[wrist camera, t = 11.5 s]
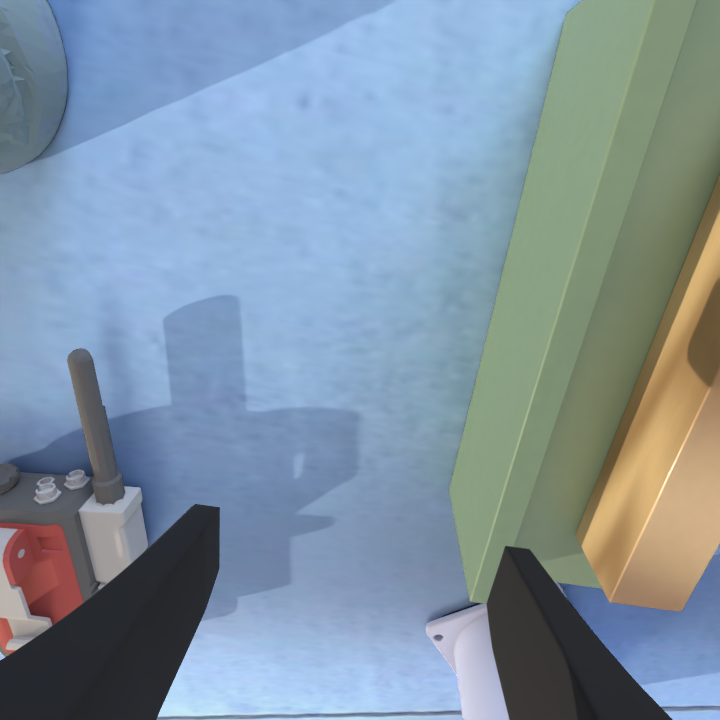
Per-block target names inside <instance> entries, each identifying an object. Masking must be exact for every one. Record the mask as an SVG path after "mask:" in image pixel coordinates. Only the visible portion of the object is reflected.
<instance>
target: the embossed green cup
mask: <svg viewBox="0 0 720 720" xmlns="http://www.w3.org/2000/svg"><path fill="white" fill-rule="evenodd" d="M67 91H68V84H67V64H66V57H65V51H64V48H63V44H62V40H61V36H60V32H59V28H58V26H57V23H56V21H55V18H54V16H53V13H52V11H51V8H50V6H49V5H48V3H47V1H46V0H0V174H4V173H8V172H10V171H13V170H15V169H18V168H20V167H22V166H24V165H25V164H26V163H28V162H30V161H32V160H33V159H34V158H35V157H37V156H39V155H40V154H41V153H42V152H43V151H44V150H45V149H46V148H47V146H48V145H49V144H50V142H51V141H52V139H53V137H54V136H55V134H56V132H57V130H58V127H59V125H60V122H61V119H62V116H63V113H64V109H65V105H66V98H67Z"/></svg>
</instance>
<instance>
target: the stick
mask: <svg viewBox="0 0 720 720" xmlns="http://www.w3.org/2000/svg"><path fill="white" fill-rule="evenodd" d="M576 537H577V539H578V541H579V543H580V545H581V547H582V549H583V551H584V553H585V555H586V557H587V559H588V561H589V563H590V565H591V567H592V569H593V571H594V573H595V575H596V577H597V579H598V581H599V583H600V585H601V587H602V589H603V591H604V593H605V595H606V597H607V599H608V601H609V602H611V603H619V604H626V605H634V606H641V607H648V608H656V609H663V610H671V611H678V612H681V611H682V610H683V608H684V606H685V604H686V603H687V601H688V599H689V597H690V596H691V594H692V592H693V590H694V589H695V587H696V585H697V583H698V582H699V580H700V578H701V576H702V574H703V573H704V571H705V569H706V567H707V566H708V564H709V562H710V560H711V559H712V557H713V555H714V553H715V551H716V550H717V548H718V546H719V544H720V174H719V177H718V179H717V182H716V184H715V187H714V189H713V192H712V194H711V197H710V199H709V202H708V204H707V207H706V209H705V212H704V214H703V217H702V219H701V222H700V224H699V227H698V229H697V232H696V234H695V237H694V239H693V242H692V244H691V247H690V249H689V252H688V254H687V257H686V259H685V262H684V264H683V267H682V269H681V272H680V274H679V277H678V279H677V282H676V284H675V287H674V289H673V292H672V294H671V297H670V299H669V302H668V304H667V307H666V309H665V312H664V314H663V317H662V319H661V322H660V324H659V327H658V329H657V332H656V334H655V337H654V339H653V342H652V344H651V347H650V349H649V352H648V354H647V357H646V359H645V362H644V364H643V367H642V369H641V372H640V374H639V377H638V379H637V382H636V384H635V387H634V390H633V392H632V395H631V397H630V400H629V402H628V405H627V407H626V410H625V412H624V415H623V417H622V420H621V422H620V425H619V427H618V430H617V432H616V435H615V437H614V440H613V442H612V445H611V447H610V450H609V452H608V455H607V457H606V460H605V462H604V465H603V467H602V470H601V472H600V475H599V477H598V480H597V482H596V485H595V487H594V490H593V492H592V495H591V497H590V500H589V502H588V505H587V507H586V510H585V512H584V515H583V517H582V520H581V522H580V525H579V527H578V530H577V532H576Z"/></svg>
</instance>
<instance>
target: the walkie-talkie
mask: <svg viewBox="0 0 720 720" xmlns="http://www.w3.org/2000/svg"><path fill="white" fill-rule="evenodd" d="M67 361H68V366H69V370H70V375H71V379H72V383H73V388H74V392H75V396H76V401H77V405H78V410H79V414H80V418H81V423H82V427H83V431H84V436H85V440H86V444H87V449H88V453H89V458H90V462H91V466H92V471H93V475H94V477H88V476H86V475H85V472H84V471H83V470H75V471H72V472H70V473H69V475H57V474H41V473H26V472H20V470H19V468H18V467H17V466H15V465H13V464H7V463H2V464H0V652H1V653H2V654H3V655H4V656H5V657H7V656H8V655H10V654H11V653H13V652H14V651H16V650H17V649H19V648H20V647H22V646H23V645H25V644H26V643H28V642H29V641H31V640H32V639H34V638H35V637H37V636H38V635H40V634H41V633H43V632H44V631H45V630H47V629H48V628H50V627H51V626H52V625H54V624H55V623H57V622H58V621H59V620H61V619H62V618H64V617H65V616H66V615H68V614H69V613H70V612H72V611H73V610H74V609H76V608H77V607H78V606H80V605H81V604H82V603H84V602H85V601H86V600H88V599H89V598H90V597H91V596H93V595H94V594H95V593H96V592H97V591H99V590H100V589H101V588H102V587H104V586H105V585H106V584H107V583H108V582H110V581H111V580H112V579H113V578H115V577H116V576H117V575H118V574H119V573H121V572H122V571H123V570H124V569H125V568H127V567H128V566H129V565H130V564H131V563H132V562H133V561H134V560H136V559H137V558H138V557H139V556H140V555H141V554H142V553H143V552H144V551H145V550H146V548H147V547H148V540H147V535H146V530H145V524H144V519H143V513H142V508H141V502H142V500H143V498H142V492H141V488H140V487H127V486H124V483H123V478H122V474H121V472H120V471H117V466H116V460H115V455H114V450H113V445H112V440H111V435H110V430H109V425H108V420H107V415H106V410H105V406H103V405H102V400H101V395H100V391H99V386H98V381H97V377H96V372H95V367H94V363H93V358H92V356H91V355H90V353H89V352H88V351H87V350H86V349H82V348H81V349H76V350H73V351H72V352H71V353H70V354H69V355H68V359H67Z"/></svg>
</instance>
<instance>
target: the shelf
mask: <svg viewBox="0 0 720 720" xmlns="http://www.w3.org/2000/svg"><path fill="white" fill-rule="evenodd" d="M719 174H720V0H582V1H581V2H579V3H578V4H577V5H576V6H574V7H573V8H572V9H571V10H570V11H568V12H567V14H566V16H565V21H564V25H563V29H562V33H561V37H560V41H559V45H558V49H557V53H556V57H555V61H554V65H553V69H552V73H551V77H550V81H549V86H548V90H547V94H546V98H545V102H544V106H543V110H542V114H541V118H540V122H539V126H538V130H537V134H536V138H535V142H534V146H533V150H532V155H531V159H530V163H529V167H528V171H527V175H526V179H525V183H524V187H523V191H522V195H521V199H520V203H519V207H518V211H517V215H516V219H515V224H514V228H513V232H512V236H511V240H510V244H509V248H508V252H507V256H506V260H505V264H504V268H503V272H502V276H501V280H500V284H499V288H498V293H497V297H496V301H495V305H494V309H493V313H492V317H491V321H490V325H489V329H488V333H487V337H486V341H485V345H484V349H483V353H482V358H481V362H480V366H479V370H478V374H477V378H476V382H475V386H474V390H473V394H472V398H471V402H470V406H469V410H468V414H467V418H466V422H465V427H464V431H463V435H462V439H461V443H460V447H459V451H458V455H457V459H456V463H455V467H454V471H453V475H452V479H451V483H450V487H449V494H450V499H451V504H452V510H453V515H454V520H455V526H456V531H457V536H458V541H459V547H460V552H461V557H462V563H463V568H464V573H465V579H466V584H467V589H468V594H469V600H470V601H471V602H476V603H483V604H487V601H488V597H489V594H490V591H491V588H492V585H493V582H494V579H495V576H496V573H497V570H498V567H499V564H500V561H501V558H502V554H503V551H504V548H505V546H511V547H519V548H526V549H530V550H531V551H532V553H533V554H534V555H535V557H536V558H537V559H538V561H539V562H540V563H541V565H542V566H543V567H544V569H545V570H546V571H547V573H548V574H549V575H550V577H551V578H552V579H553V581H554V582H558V583H565V584H573V585H580V586H587V587H595V588H602V587H601V585H600V583H599V581H598V579H597V577H596V575H595V573H594V571H593V569H592V567H591V565H590V563H589V561H588V559H587V557H586V555H585V553H584V551H583V549H582V547H581V545H580V543H579V541H578V539H577V537H576V532H577V530H578V527H579V525H580V522H581V520H582V517H583V515H584V512H585V510H586V507H587V505H588V502H589V500H590V497H591V495H592V492H593V490H594V487H595V485H596V482H597V480H598V477H599V475H600V472H601V470H602V467H603V465H604V462H605V460H606V457H607V455H608V452H609V450H610V447H611V445H612V442H613V440H614V437H615V435H616V432H617V430H618V427H619V425H620V422H621V420H622V417H623V415H624V412H625V410H626V407H627V405H628V402H629V400H630V397H631V395H632V392H633V390H634V387H635V384H636V382H637V379H638V377H639V374H640V372H641V369H642V367H643V364H644V362H645V359H646V357H647V354H648V352H649V349H650V347H651V344H652V342H653V339H654V337H655V334H656V332H657V329H658V327H659V324H660V322H661V319H662V317H663V314H664V312H665V309H666V307H667V304H668V302H669V299H670V297H671V294H672V292H673V289H674V287H675V284H676V282H677V279H678V277H679V274H680V272H681V269H682V267H683V264H684V262H685V259H686V257H687V254H688V252H689V249H690V247H691V244H692V242H693V239H694V237H695V234H696V232H697V229H698V227H699V224H700V222H701V219H702V217H703V214H704V212H705V209H706V207H707V204H708V202H709V199H710V197H711V194H712V192H713V189H714V187H715V184H716V182H717V179H718V177H719Z"/></svg>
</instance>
